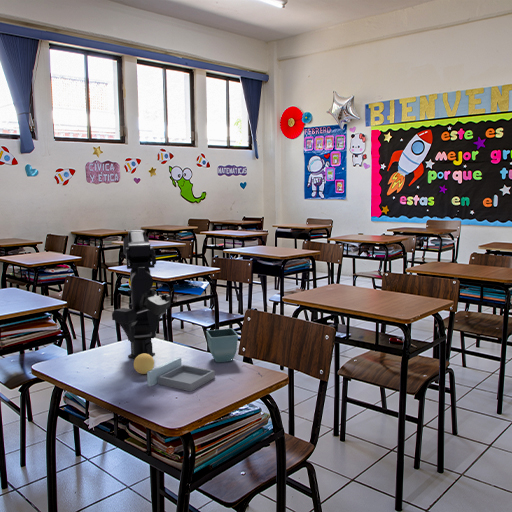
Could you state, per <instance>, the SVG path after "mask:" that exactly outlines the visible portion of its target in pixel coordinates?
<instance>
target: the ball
mask: <svg viewBox="0 0 512 512" xmlns="http://www.w3.org/2000/svg"><path fill="white" fill-rule="evenodd" d="M133 368H134V370H135V371H136V372H137V373H138V374H140V375H141V374H142V375H147V372H148V371H150V370H152V369H154V368H155V360H154V357H153V356H151V355H149V354H146V353H143V354H140V355H138V356H137V357H136V358H134V361H133Z"/></svg>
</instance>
